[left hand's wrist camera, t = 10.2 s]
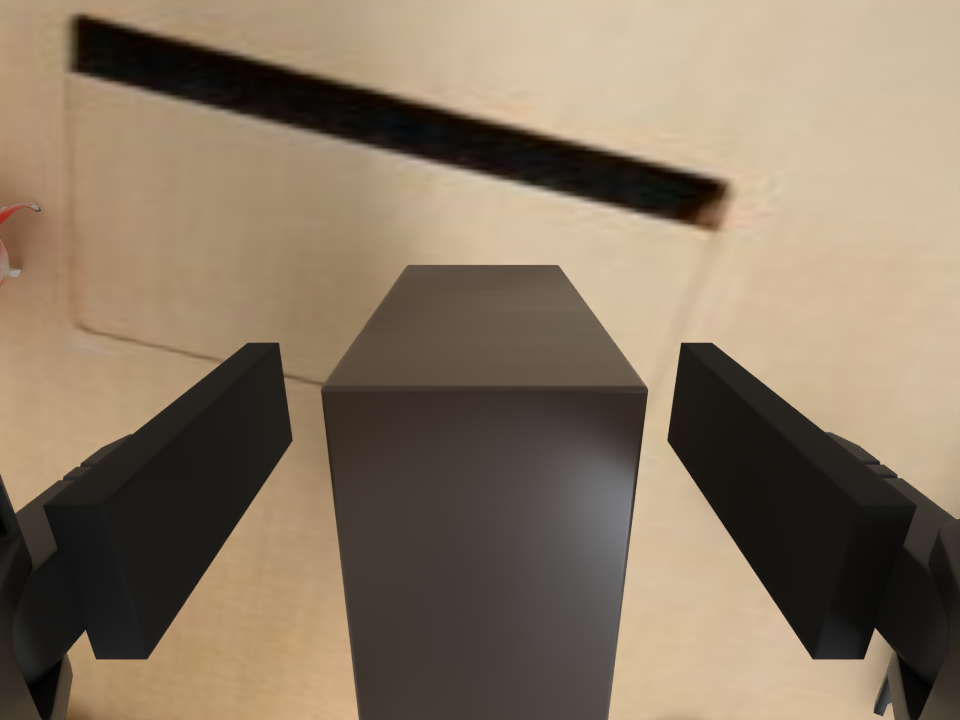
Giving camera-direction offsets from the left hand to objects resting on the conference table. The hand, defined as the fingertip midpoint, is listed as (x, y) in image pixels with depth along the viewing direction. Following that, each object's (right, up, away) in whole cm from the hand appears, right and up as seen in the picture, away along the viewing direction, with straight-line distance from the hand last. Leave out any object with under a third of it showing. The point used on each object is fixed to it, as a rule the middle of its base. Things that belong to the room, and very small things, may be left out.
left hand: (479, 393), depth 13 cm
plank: (0, -9, +5) cm, 10 cm away
